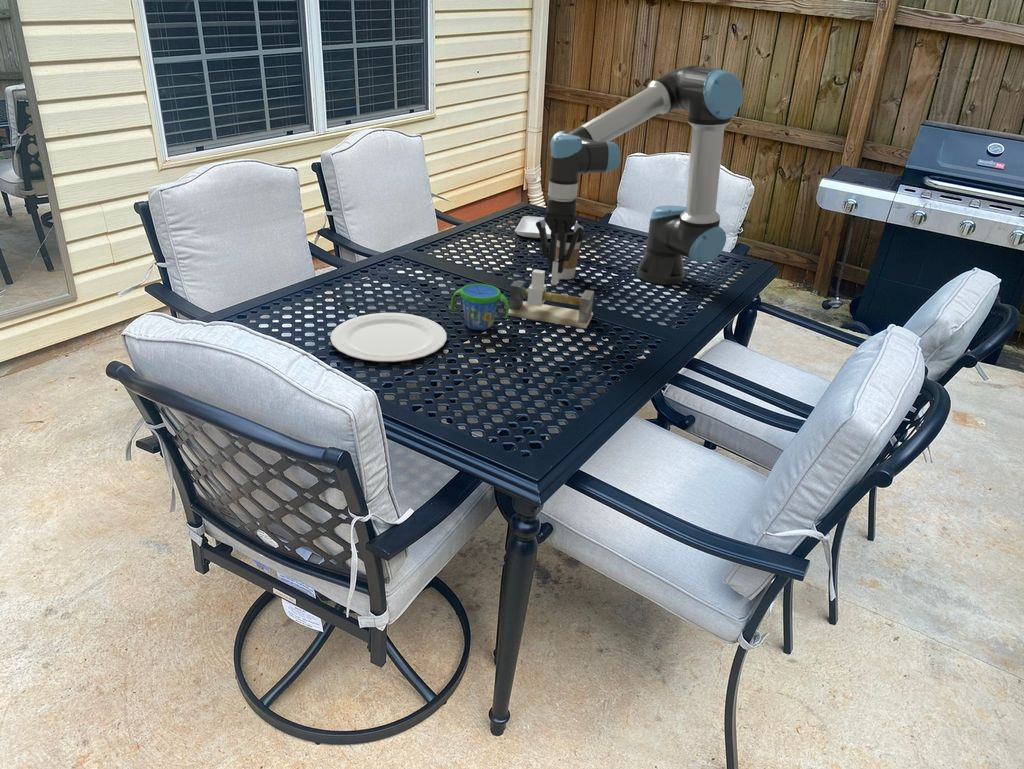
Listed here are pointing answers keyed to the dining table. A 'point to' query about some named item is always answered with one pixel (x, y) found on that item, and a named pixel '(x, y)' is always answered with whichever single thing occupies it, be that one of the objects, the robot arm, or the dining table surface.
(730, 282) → the dining table surface
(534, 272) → the sleeve
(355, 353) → the plate
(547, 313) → the lead screw slide rig
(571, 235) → the coffee cup
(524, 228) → the salad plate
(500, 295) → the snack cup
